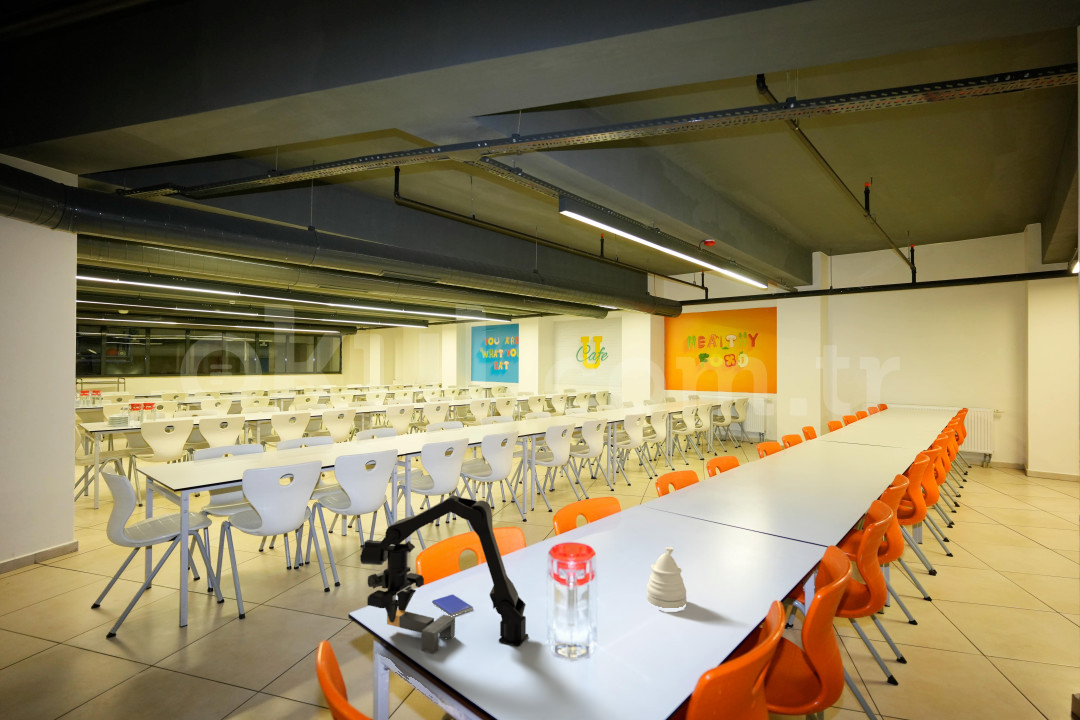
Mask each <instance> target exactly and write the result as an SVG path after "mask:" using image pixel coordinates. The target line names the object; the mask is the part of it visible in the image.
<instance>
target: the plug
mask: <svg viewBox="0 0 1080 720" xmlns="http://www.w3.org/2000/svg"><path fill="white" fill-rule="evenodd" d="M434 621H435V618H434V617H431V616H427V615H422V614H418V613H414V612H412V611H411V612H410V611H407V610H405V611H403V610H399V609H398V608H397V612H396V616H395V620H394V622H393V623H392V622H390V620H389V617H388V614H387V613H386V625H388V626H389V625H390V626H393V627H397V628H400V629H405V630H407V631H411V632H416V633H419V634H422V630H423V629H425V628H426V627H427V626H429V625H430V624H431V623H433V622H434Z"/></svg>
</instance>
